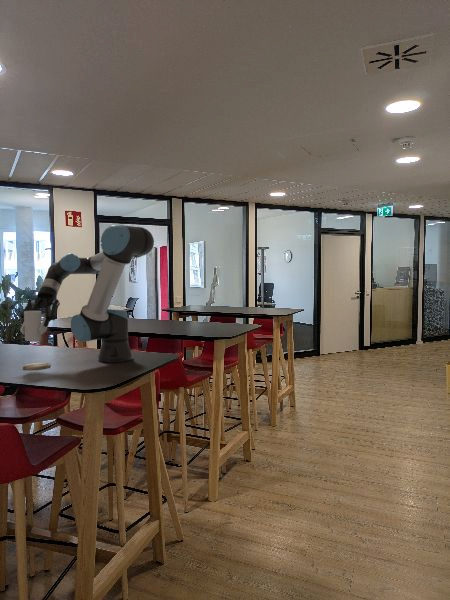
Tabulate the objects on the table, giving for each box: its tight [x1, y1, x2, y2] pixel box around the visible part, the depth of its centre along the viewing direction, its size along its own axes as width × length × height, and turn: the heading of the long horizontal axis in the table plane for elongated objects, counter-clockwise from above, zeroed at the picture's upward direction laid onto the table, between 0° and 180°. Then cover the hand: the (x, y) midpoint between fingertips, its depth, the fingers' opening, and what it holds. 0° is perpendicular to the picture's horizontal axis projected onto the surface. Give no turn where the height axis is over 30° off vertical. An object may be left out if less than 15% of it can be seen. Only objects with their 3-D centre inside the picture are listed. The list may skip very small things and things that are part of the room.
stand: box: [22, 362, 51, 371], centre depth 196 cm, size 11×11×1 cm
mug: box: [24, 310, 49, 342], centre depth 194 cm, size 10×7×12 cm, turn 135°
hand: (31, 332), depth 191 cm, fingers closed on mug, 7 cm apart
